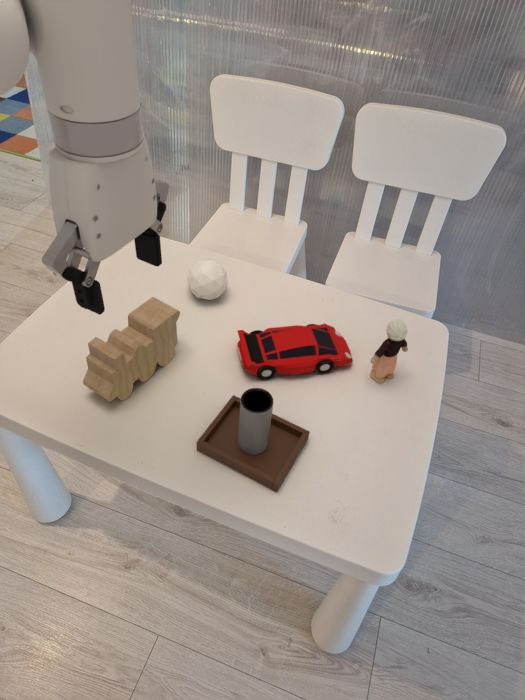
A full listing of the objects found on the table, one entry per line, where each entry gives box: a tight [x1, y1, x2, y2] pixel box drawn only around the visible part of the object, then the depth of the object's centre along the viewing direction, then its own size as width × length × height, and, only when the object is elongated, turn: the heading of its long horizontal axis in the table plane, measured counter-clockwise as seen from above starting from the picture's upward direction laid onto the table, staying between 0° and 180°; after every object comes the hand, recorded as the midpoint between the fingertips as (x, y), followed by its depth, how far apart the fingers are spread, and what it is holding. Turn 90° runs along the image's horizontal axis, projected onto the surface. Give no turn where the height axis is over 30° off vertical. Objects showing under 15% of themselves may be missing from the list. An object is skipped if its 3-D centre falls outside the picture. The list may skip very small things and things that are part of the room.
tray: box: [195, 394, 311, 493], centre depth 79 cm, size 14×11×2 cm
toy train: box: [82, 296, 181, 402], centre depth 85 cm, size 6×17×10 cm, turn 146°
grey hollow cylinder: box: [238, 387, 274, 455], centre depth 76 cm, size 4×4×10 cm
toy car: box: [236, 323, 354, 381], centre depth 92 cm, size 10×20×5 cm, turn 106°
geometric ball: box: [187, 259, 229, 301], centre depth 101 cm, size 8×8×8 cm
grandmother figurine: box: [369, 319, 409, 384], centre depth 87 cm, size 8×4×13 cm, turn 132°
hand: (121, 283), depth 57 cm, fingers open, 9 cm apart
